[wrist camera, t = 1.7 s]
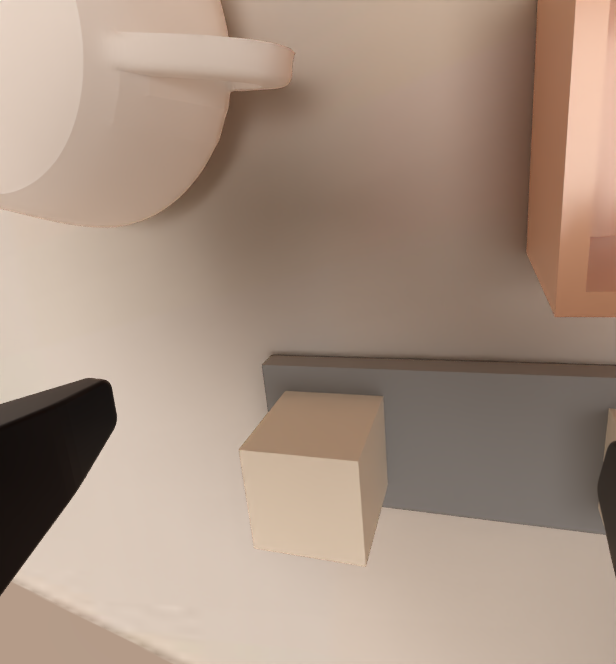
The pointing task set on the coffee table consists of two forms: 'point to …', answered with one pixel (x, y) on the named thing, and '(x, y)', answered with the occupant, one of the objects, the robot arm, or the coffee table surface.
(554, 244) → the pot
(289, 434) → the block
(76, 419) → the robot arm
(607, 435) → the block
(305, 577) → the coffee table surface
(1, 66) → the teapot
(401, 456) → the slate board
